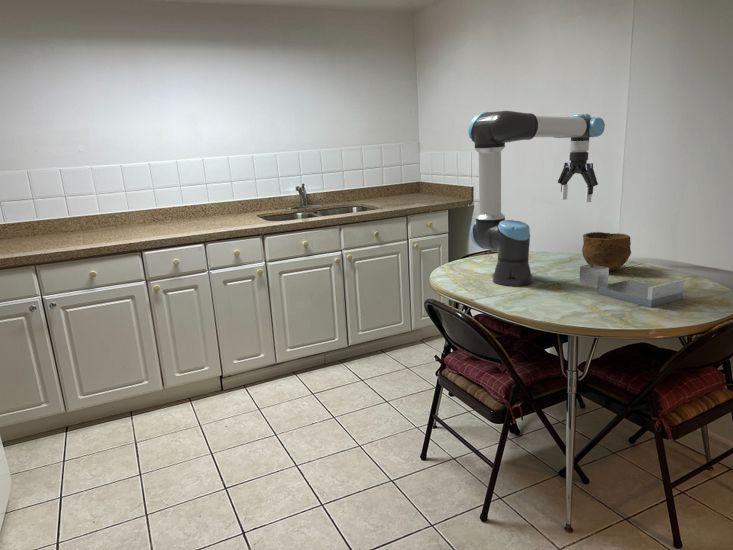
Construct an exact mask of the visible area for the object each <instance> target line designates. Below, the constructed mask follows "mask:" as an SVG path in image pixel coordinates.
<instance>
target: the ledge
mask: <svg viewBox="0 0 733 550" xmlns="http://www.w3.org/2000/svg"><path fill="white" fill-rule="evenodd" d="M684 283H685V280H684V279H677V280H676V279H675V280H672V281H668V282H665V283H664V282H663V283H661V284H656V285H655V284H650V283H646V282H640V281H636V280H633V279H628V280H627V279H626V280H622V281H619V282H614V283H610V284H609V283H608V285H605V286H600V287H599V288H598V294H599V295H603V296H606V297H611V298H613V299H614V298H615V299H618V300H622V301H626V302H629V303H632V304H637V305H640V306H644V307H649V308H654V307H657V306H660V305H664V304H669V303H672V302H675V301H680V300H682V299H683V292H684V287H685V286H684V285H685V284H684Z"/></svg>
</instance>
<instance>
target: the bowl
mask: <svg viewBox="0 0 733 550" xmlns="http://www.w3.org/2000/svg"><path fill="white" fill-rule="evenodd" d="M582 237H583V245H582V248H581V253H582V256H583V259H584V260H585V262H586V264H587V265H589V264H593V265H598V266H603V267H607V268H609V272H610V271H615V270H618V269H620V268H621V267H623V265H625V264H626V262H627V261H628V260H629V258H630V256H631V255H632V249H631V244H632V243H631V236H630V235H628V234H626V233H619V232H618V233H610V232H604V231H603V232H602V231H596V232H593V231H592V232H586V233H584V234H583V235H582Z"/></svg>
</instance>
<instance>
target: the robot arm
mask: <svg viewBox="0 0 733 550" xmlns="http://www.w3.org/2000/svg"><path fill="white" fill-rule="evenodd" d="M472 118H473V119H471V121H470V123H469V125H468V137H469V138H470V139H471V142H473V143H474V150H475V151H476V152H477V153H478V197H479V198H478V199H479V200H478V203H479V205H478V206H479V207H478V209H479V210H478V211H479V213H477V215H476V216H475V221H474V222H473V223H472V225H471V227H470V231H469V233H470V234H469V235H470V239H471V241H472V242H473V244H474V245H475V246H477V247H478V248H481V249H482V250H487V251H493V252H497V262H496V265H495V269H494V272H493V273H492V282H493V283H494V284H497V285H501V286H507V287H508V286H510V287H520V286H521V287H522V286H527V285H530V284H532V283H533V275H532V271H531V268H530V264H529V258H530V257H529V256H530V244H531V243H530V241H531V239H530V238H531V233H530V231H531V229H530V225H529V224H527V223H526V222H523V221H520V220H515V219H514V220H513V219H506V216H505V214H503V213H502V152H503V150H504V149H505V148H506V143H511V142H513V143H514V142H517V141H519V142H520V141H530V140H533V139H534V138H554V139H555V138H557V139H561V138H563V139H567V138H568V139H570V144H569V145H570V147H569V150H570V152H569V161H570V162H564V165H563V169H562V171H561V172H560V175H559V177H558V180H557V184H560V185H561V186H560V192H561V200H563V201H564V200H568V189H569V185H568V183H569V181H570V180H571V179H572V178H573V176H574V175H575V174H580V175H581V176H582V178H583V180H584V182H585V184H586V186H585V198H584V202H585V203H591V202H592V197H593V193H594V187H596V186H598V185H599V183H598V180H597V175H596V174H595V170H594V163H593V162H588V160H589V152H588V151H589V149H590V138H596V137H598V138H599V137H600V136H602V135H603V134H604V133H605V132H604V131H605V127H606V124H605V123H606V122H605V120H604V119H603V118H602V117H597V116H591V114H588V113H585V114H584V113H581V114H580V113H579V114H573V115H572V116H570V117H569V116H538V115H537V116H536V115H535V114H534V113H532V112H531V113H529V112H518V111H513V110H500V111H487V112H486V111H485V112H481V113H478V114H476V115H475V116H474V117H472ZM587 162H588V163H587Z"/></svg>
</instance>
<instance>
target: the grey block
mask: <svg viewBox="0 0 733 550" xmlns="http://www.w3.org/2000/svg"><path fill="white" fill-rule="evenodd" d="M609 272H610V271H609V268H607V267H603V266H598V265H593V264H585V265H580V267H579V277H578V278H579V281H578V284H580V285H584V286H587V287H590V288H595V289H599V287H600V286H605V285H609V274H610V273H609Z"/></svg>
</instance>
